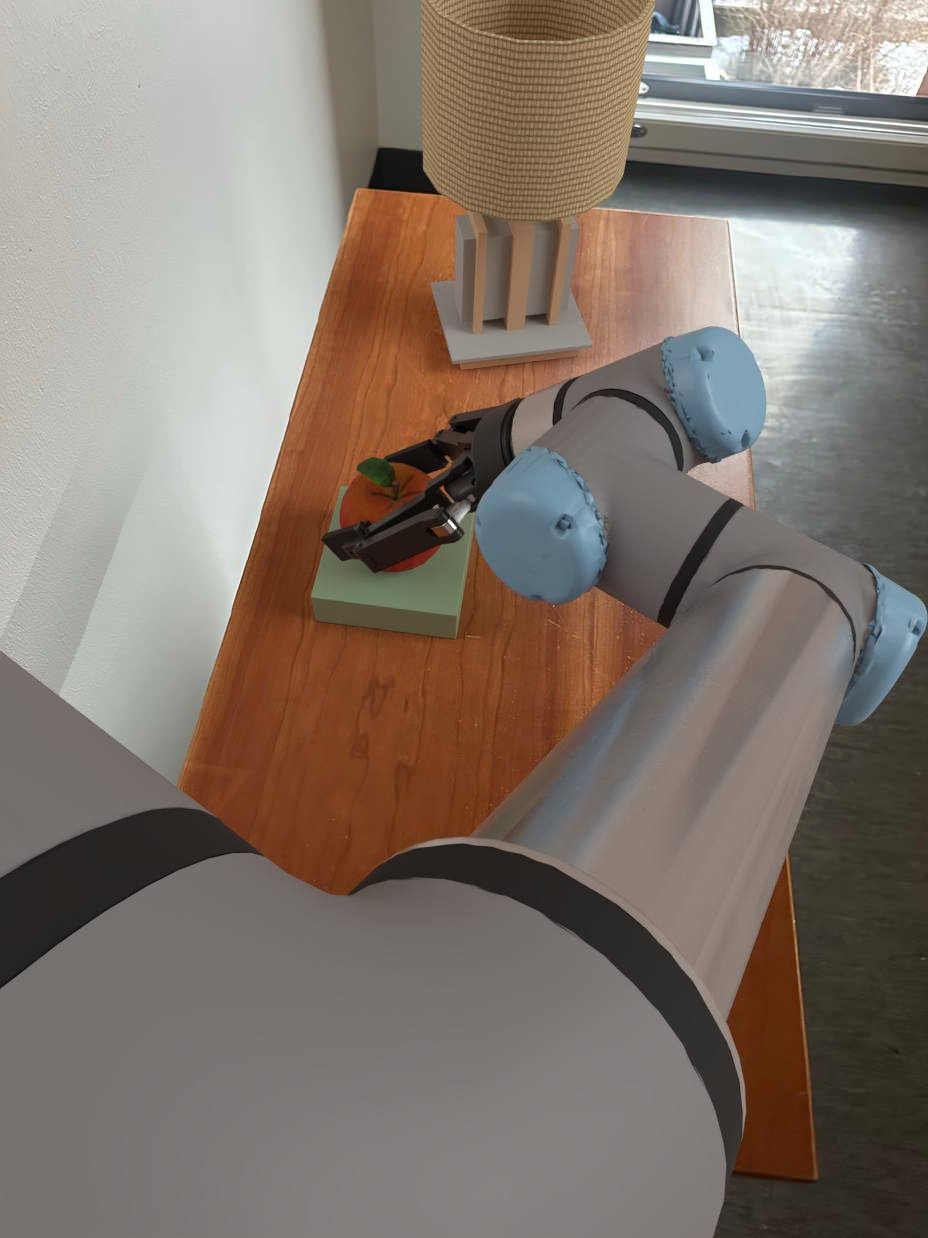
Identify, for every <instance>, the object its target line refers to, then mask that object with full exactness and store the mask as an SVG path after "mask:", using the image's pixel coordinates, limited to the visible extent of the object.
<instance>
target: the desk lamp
mask: <svg viewBox="0 0 928 1238" xmlns="http://www.w3.org/2000/svg"><path fill="white" fill-rule="evenodd" d="M656 1H657V0H420V8H421V9H420V17H421V19H420V23H421V25H420V26H421V27H420V28H421V29H420V30H421V34H420V35H421V99H422V100H421V105H422V107H421V108H422V111H421V112H422V170H423V172H424V174H425V175H426V176H427V178H428V180H429V181H430V183H431V184H432V186H433V187H434V189H435V190H436V191H437V193H439V194H440V195H442V196H444V197H445V198H447V199H448V200H450V201H452V202H453V203H455V205H457V206H459V207H461V208H463V209H464V210H466V214H459V215H455V242H454V243H455V244H454V246H455V247H454V253H455V254H454V279H453V280H443V281H441V280H440V281H434V282H430V288H431V291H432V295H433V299H434V303H435V306H436V309H437V313H438V317H439V320H440V321H439V322H440V324H441V328H442V332H443V336H444V338H445V342H446V346H447V349H448V354H449V356H450V360H451V364H452V365H459V367H460V370H461V371H462V370H472V369H479V368H490V367H496V366H497V367H498V366H506V365H514V364H524V363H531V362H539V361H540V362H541V361H549V360H556V359H557V360H558V359H565V358H573V357H574V358H575V357H578V351H579V350H589V349H593V346H594V344H593V341H592V339H591V337H590V334H589V332H588V331H589V330H588V329H587V327H586V323H585V322H584V320H583V319H584V318H583V316H582V314H581V312H580V309H579V307H578V304H577V302H576V299H575V297H574V294H573V292H572V280H573V276H574V270H575V269H574V268H575V263H576V262H575V261H576V256H577V249H578V242H579V236H580V231H581V230H580V229H581V228H580V225H579V224H578V221H577V219H576V217H575V216H578V215H583V214H586V213H587V212H589V211H590V210H592V209H594V208H595V207H597V206H598V205H600V204H602V203H603V202H605V201H607V200H609V199H610V198H611V197H612V196H613V194H614V192H615V191H616V189H617V187H618V185H619V184H620V182H621V180H622V179H623V177H624V174H625V169H626V168H625V167H626V163H627V162H626V161H627V157H628V152H629V146H630V141H631V136H632V130H633V126H634V125H633V124H634V119H635V115H636V114H635V113H636V109H637V103H638V98H639V92H640V87H641V83H642V82H641V81H642V77H643V71H644V66H645V60H646V54H647V50H648V44H649V39H650V34H651V28H652V23H653V19H654V11H655V7H656Z"/></svg>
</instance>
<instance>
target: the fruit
mask: <svg viewBox="0 0 928 1238" xmlns="http://www.w3.org/2000/svg"><path fill="white" fill-rule="evenodd" d="M355 470H356V471H357V472H358V473H359V475H357V476H356V477H355V478H353V480H352V481H351V483H350V484H349V485H348V486H349V487H348V489H347V490H346V492H345V494H344V496H343V499H342V503H341V508H340V516H339V521H340V527H341V528H345V527H348V526H351V525H354V524H358V523H359V522H360V521H362V522H364V521H367V520H369V521H370V522H371V524H374V523H375V522H377V521H378V520H380V519H382V518H383V517H385V516H386V515H388V514H389V513H391V512H393V511H394V510H396V509H397V508H399V507H400V506H402V505H404V504H405V503H407V502H408V501H410V500H411V499H413V498H415V497H416V496H418V495H419V494H421V493H422V492H424V491H425V489H426V486H427V483H428V481H429V480H431V479H433V477H431V476H430V475H428V474H425V473H424V472H422V471H421V470H419V469H417V468H415V467H412V466H409V465H406V464H403V463H389V462H387V461H386V460H384V458H380V457H375V456H372V457H368V458H366V459H364V460H363V461H362V462H360V463H358V464H357V466H356V469H355ZM440 546H441V545H439V546H436V547H434V548H432V549H430V550H427V551H425V552H423V553H421V554H418V555H416V556H414V557H412V558H409V559H407V560H405V561H402V562H400V563H398V564H396V565H393V566H391V567H389V568H387V569H384V570H382V571H384V572H402V571H407V570H412V569H414V568H416V567H418V566H420V565H422V564H424V563H425V562H427V561H428V560H429V559H430V558H431V557H432V556H433V555H434V554H435V553H436V552H437V551H438V549H439V548H440ZM359 560H360V559H359ZM360 561H361V560H360Z"/></svg>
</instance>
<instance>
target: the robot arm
mask: <svg viewBox="0 0 928 1238" xmlns="http://www.w3.org/2000/svg"><path fill="white" fill-rule="evenodd" d="M761 371H762V370H761V369H760V367H759V365H758V363H757V360H756V358H755V356H754V354H753V352H752V350H751V349H750V347H749V346H748V344H746V342H745V341H744V340H743V339H742V338H741V337H740V336H739V335H738V334H737V333H735V332H734V331H732V330H731V329H728V328H726V327H723V326H717V325H716V326H715V325H710V326H705V327H702V328H699V329H696V330H692V331H689V332H686V333H683V334H680V335H676V336H672V335H669V336H666V337H665V338H663V340H662V341H661V342H658V343H656V344H654V345H652V346H649V347H647V348H645V349H642V350H639V351H637V352H635V353H632V354H630V355H627V356H625V357H622V358H620V359H618V360H615V361H613V362H610V363H607V364H605V365H603V366H601V367H598V368H595V369H592V370H591V371H587V372H586V373H584V374H581V375H578V376H573V377H569V378H567V379H565V380H561V381H559V382H556V383H554V384H552V385H549V386H546V387H544V388H542V389H539V390H536V391H534V392H532V393H529V394H528V395H527V396H526V397H520V396H519V397H516V398H514V399H512V400H510V401H507V402H505V403H502V404H500V405H495V406H490V407H485V408H480V409H479V408H478V409H475V410H469V411H465V412H459V413H456V414H454V415H452V416H451V417H450V418H449V419H448V422H447V423H448V425H449V426H450V427H449V428H447V429H445V428H442V429H440V430H437V431H436V432H435V434H434V436H433V438H428V439H426V440H424V441H421V442H418V443H415V444H413V445H410V446H408V447H405V448H402V449H400V450H398V451H395V452H392V453H390V454H387V455H385V456H384V457H383V459H384V460H386V461H387V462H389V463H403V464H406V465H409V466H412V467H415V468H417V469H419V470H421V471H422V472H424V473H425V474H427V475H428V474H429V475H430V474H432V473H434V472H438V471H440V470H443V469H445V470H443V471H442V472H440V473H439V474H437V475H436V476H434V477H432V479H431V480H429V481H428V483H427V486H426V489H425V491H424V492H422V493H421V494H419V495H418V496H416V497H415V498H413V499H411V500H410V501H408V502H407V503H405V504H404V505H402V506H400V507H399V508H397V509H396V510H394V511H393V512H391V513H389V514H388V515H386V516H385V517H383V518H382V519H380V520H378V521H377V522H375V523H374V524H371V522H370V521H369V520H367V521H364V522H362V521H360V522H359V523H358V524H354V525H351V526H348V527H345V528H341V529H338V530H335V531H332V532H329V531H327V532H325V533H324V535H322V537H321V538H320V541H321V542H322V543H323V544H324V546H325V545H326V546H327V547H328V548H329V549H330V550H331V551H332V552H333V553H334V554H335V555H336V556H337V557H338V558H339V559H340V560H341V561H346V560H350V559H354V560H356V559H360V560H361V561H362V562H363V563H364V564H365V565H366V566H367V567H368V568H369V569H370V570H371V571H372V572H373V573H374V574H375V573H378V572H380V571H382V570H384V569H387V568H389V567H391V566H393V565H396V564H398V563H400V562H402V561H405V560H407V559H409V558H412V557H414V556H416V555H418V554H421V553H423V552H425V551H427V550H430V549H432V548H434V547H436V546H439V545H443V544H450V543H455V542H457V541H459V540H460V539H461V538H462V537H463V535H464V533H465V532H464V531H463V530H462V529H461V527H460V526H459V523H460V522H461V521H462V519H463V518H464V517H465V515H466V514H468V513H473V512H475V526H474V532H475V537H476V542H477V546H478V548H479V551H480V553H481V555H482V557H483V559H484V560H485V562H486V564H487V565H488V567H489V569H490V570H491V571H492V572H493V574H494V575H495V576H496V577H497V578H498V579H499V581H500V582H501V583H503V584H504V585H505V587H508V589H510V590H511V591H513V592H514V593H516V594H517V595H519V596H520V597H523V598H525V599H527V600H529V601H530V602H531V601H532V602H539V601H540V602H541V601H544V602H546V603H547V604H549V605H553V606H554V605H555V606H557V605H560V606H561V605H564V604H568V603H572V602H575V601H576V600H577V599H579V598H580V597H581V596H583V595H584V594H586V593H589V592H590V591H591V590H592V589H593V588H594V587H595V588H596V589H598V590H600V591H601V592H603V593H605V594H606V595H607V596H610V597H612V598H613V599H615V600H617V601H618V602H620V603H622V604H623V605H625V606H627V607H629V608H630V609H632V610H634V611H635V612H637V613H639V614H641V615H642V616H644V617H646V618H648V619H649V620H651V621H653V622H654V623H656V624H659V625H660V626H662V627H664V628H666V631H664V633H663V634H662V635H661V636H659V638H658V639H657V640H656V641H655V642H654V643H653V644H652V645H651V646H650V647H649V648H648V649H647V650H646V651H645V652H644V653H643V654H642V656H641V657H639V659H638V660H637V661H636V662H635V663H634V664H632V666H631V667H630V668H629V669H628V670H627V671H626V672H625V673H624V674H623V675H622V676H621V678H619V679H618V681H616V682H615V684H614V685H612V687H611V688H610V689H609V690H607V692H606V693H605V694H604V695H603V696H602V697H601V698H600V699H599V700H598V701H597V702H596V703H595V705H593V707H592V708H590V710H589V711H588V712H587V713H586V714H584V715H583V717H582V718H581V719H580V720H579V721H578V722H576V724H575V725H574V726H573V727H572V728H571V730H569V731H568V732H567V733H566V735H565V736H563V737H562V739H561V740H560V741H559V742H558V743H556V745H555V746H554V747H553V748H552V749H551V750H550V751H549V753H547V754H546V755H545V756H544V757H543V759H542V760H541V761H540V762H538V764H537V765H536V766H535V767H534V768H533V769H532V770H531V771H530V772H529V773H528V774H527V775H526V776H525V777H524V778H523V780H521V781H520V782H519V784H517V786H516V787H515V788H514V789H513V790H512V791H511V792H509V794H508V795H507V796H506V797H504V799H503V800H502V801H501V802H500V803H499V804H498V805H497V806H496V807H495V808H494V810H492V812H490V813H489V815H488V816H487V817H486V818H484V820H482V821H481V823H480V824H479V825H477V827H476V828H475V829H474V830H473V831H472V832H471V833H470V835H468V836H453V837H452V836H451V837H442V838H441V837H439V838H434V839H430V840H426V841H422V842H419V843H415V844H412V845H410V846H408V847H406V848H404V849H401V850H399V851H397V852H395V853H394V854H393V855H392V856H390V857H388V858H387V859H386V860H384V861H383V862H381V863H380V864H379V865H377V866H376V867H375V868H374V869H372V871H371V872H370V873H369V874H368V875H367V876H365V878H363V879H362V880H361V881H360V882H359V883H358V884H357V885H356V886H355V887H354V888H353V889H351V891H350V892H348V894H347V895H340V894H332V893H328V892H326V891H324V890H322V889H320V888H318V887H316V886H313V885H312V884H310V883H308V882H305V881H304V880H301V879H300V878H297V877H295V876H294V875H291V874H290V873H287V872H286V871H285V870H283V869H282V868H281V867H280V866H278V865H277V864H275V863H274V862H273V861H272V860H271V859H269V858H268V857H267V856H266V855H265V854H263V852H261V851H260V850H258V849H257V848H256V847H255V846H253V844H250V842H248V841H247V840H245V838H243V837H242V836H241V835H239V834H238V833H237V832H235V831H234V830H232V828H230V827H229V826H227V824H225V823H224V822H223V820H221V818H219V817H218V816H216V815H214V814H213V813H212V812H210V811H209V810H207V809H206V808H205V807H204V806H202V805H201V804H200V803H198V802H197V801H196V800H194V799H193V798H192V797H191V796H190V795H188V794H187V793H186V792H185V791H183V789H180V788H179V787H178V786H176V785H175V784H174V783H173V782H172V781H170V780H169V779H167V778H166V777H165V776H164V775H162V774H161V773H160V772H158V771H157V770H156V769H154V768H153V767H151V765H149V764H148V763H147V762H145V761H144V760H142V759H141V758H140V757H139V756H137V754H135V753H134V752H132V751H131V750H130V749H129V748H127V747H126V746H125V745H123V744H122V743H121V742H120V741H118V740H117V739H115V737H113V736H112V735H110V734H109V732H107V731H105V730H104V729H103V728H101V727H100V726H99V725H98V724H96V723H95V722H94V721H92V720H91V719H90V718H88V717H87V716H86V715H84V714H83V713H82V712H81V711H79V710H78V709H77V708H76V707H74V706H73V705H72V704H70V703H69V702H68V701H66V700H65V699H64V698H63V697H61V696H60V695H58V694H57V693H56V692H55V691H54V690H52V689H51V688H49V687H48V686H47V685H46V684H45V683H43V681H40V680H39V679H38V678H37V677H36V676H34V675H33V674H32V673H30V672H29V671H28V670H26V669H25V668H24V667H22V666H21V665H20V664H19V663H17V662H16V661H15V660H14V659H12V658H11V657H9V656H8V655H7V654H6V653H4V651H2V650H0V1238H714V1235H715V1231H716V1228H717V1225H718V1222H719V1221H720V1218H721V1214H722V1210H723V1207H724V1206H723V1205H724V1202H725V1198H726V1194H727V1191H728V1187H729V1184H730V1182H731V1177H732V1175H733V1171H734V1168H735V1164H736V1161H737V1157H738V1154H739V1150H740V1147H741V1143H742V1140H743V1137H744V1130H745V1121H746V1116H747V1104H746V1103H747V1101H746V1100H747V1099H746V1085H745V1080H744V1074H743V1070H742V1065H741V1059H740V1055H739V1053H738V1050H737V1047H736V1044H735V1042H734V1038H733V1036H732V1034H731V1031H730V1030H731V1029H730V1027H729V1025H728V1023H727V1020H728V1019H729V1016H730V1012H731V1009H732V1008H733V1007H732V1006H733V1003H734V1001H735V998H736V995H737V993H738V991H739V988H740V984H741V982H742V979H743V977H744V973H745V971H746V968H747V965H748V963H749V960H750V957H751V954H752V951H753V949H754V947H755V943H756V940H757V938H758V935H759V932H760V929H761V928H762V927H761V926H762V923H763V922H764V918H765V916H766V913H767V910H768V907H769V904H770V902H771V900H772V899H771V898H772V896H773V893H774V891H775V888H776V885H777V882H778V881H779V878H780V874H781V871H782V869H783V865H784V862H785V861H786V858H787V855H788V852H789V850H790V847H791V843H792V841H793V838H794V835H795V833H796V829H797V827H798V824H799V823H800V819H801V816H802V814H803V810H804V808H805V805H806V801H807V799H808V796H809V794H810V792H811V791H810V790H811V788H812V786H813V783H814V780H815V777H816V774H817V772H818V769H819V766H820V764H821V760H822V758H823V756H824V752H825V750H826V747H827V744H828V741H829V738H830V735H831V733H832V731H833V727H834V725H835V726H843V727H855V726H857V725H859V724H861V723H863V722H864V721H866V720H867V719H868V718H869V717H870V716H871V715H872V714H873V713H874V711H875V710H876V709H877V708H878V706H879V705H880V704H882V702H883V701H884V699H885V698H886V696H887V695H888V693H889V692H890V691H891V690H892V688H893V687H894V685H895V684H896V682H897V681H898V679H899V678H900V676H901V675H902V673H903V672H904V670H905V668H906V667H907V665H908V664H909V662H910V661H911V658H912V657H913V655H914V654H915V652H916V650H917V648H918V643H919V641H920V639H921V638H922V636H923V634H924V633H925V631H926V628H927V624H928V611H927V607H926V605H925V604H924V602H923V601H922V600H921V598H919V597H918V596H917V595H915V594H913V593H912V592H911V591H909V590H907V589H906V588H904V587H902V586H901V585H899V584H897V583H896V582H894V581H893V580H891V579H890V578H888V577H886V576H884V574H881V573H880V572H879V571H878V570H877V569H876V567H874V566H873V565H871V564H869V563H867V562H861V561H857V560H854V559H853V558H851V557H848V556H847V555H845V554H843V553H841V552H839V551H837V550H836V549H833V548H832V547H829V546H827V545H825V544H824V543H821V542H819V541H817V540H816V539H813V538H811V537H810V536H807V535H806V534H803V533H801V532H800V531H798V530H796V529H794V528H792V527H789V526H788V525H786V524H784V523H782V522H779V521H778V520H776V519H774V518H772V517H770V516H768V515H766V514H764V513H762V512H760V511H758V510H756V509H754V508H752V507H750V506H748V505H747V504H744V503H743V502H740V501H739V500H737V499H735V498H733V497H731V496H728V495H727V494H725V493H723V492H721V491H719V490H717V489H715V488H714V487H712V486H710V485H708V484H706V483H704V482H702V481H700V480H699V479H696V478H695V477H692V476H691V475H689V474H688V473H689V472H690V471H692V470H693V469H694V468H696V467H698V466H701V465H703V464H708V463H709V464H712V465H713V464H717V463H720V462H722V460H725V459H727V458H729V457H733V456H734V455H737V454H740V453H743V452H744V451H747V450H748V449H749V448H751V447H752V446H753V445H754V444H755V443H756V442H757V440H758V439H759V438H760V436H761V433H762V431H763V429H764V426H765V422H766V416H767V391H766V386H765V381H764V377H763V374H762V372H761ZM446 457H448V458H449V459H450V461H452V462H451V464H450V461H449V460H448V459H447V458H446ZM449 464H450V467H448V468H447V469H446V467H447V466H448V465H449ZM442 488H443V490H444V491H445V492H446V494H447V495H448V496H449V497H450V498H449V497H448V496H447V495H446V494H445V492H444V491H443V490H442ZM449 499H453V501H454V503H452V502H451V501H450V500H449Z"/></svg>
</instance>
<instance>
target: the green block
mask: <svg viewBox="0 0 928 1238" xmlns="http://www.w3.org/2000/svg"><path fill="white" fill-rule="evenodd" d="M349 486H350V485H340V488H339V490H338V491H339V492H338V496H337V499H336V501H335V505H334V511H333V513H332V517H331V520H330V524H329V528H328V532H332V531H335V530H338V529H341V527H340V521H339V516H340V508H341V503H342V499H343V496H344V494H345V492H346V490H347V489H348V487H349ZM449 500H450V501H451V502H452V503H454V501H453V499H452V498H449ZM475 513H476V512H473V513H468V514H466V515H465V517H464V518H463V519H462V521H461V522H460V523H459V526H460V527H461V529H462V530H463V531H464V532H465V533H464V535H463V537H462V538H461V539H460V540H459V541H457V542H455V543H450V544H443V545H441V546H440V548H439V549H438V551H437V552H436V553H435V554H434V555H433V556H432V557H431V558H430V559H429V560H428V561H427V562H425V563H424V564H422V565H420V566H418V567H416V568H414V569H412V570H407V571H402V572H384V571H380V572H378V573H375V574H374V573H373V572H372V571H371V570H370V569H369V568H368V567H367V566H366V565H365V564H364V563H363V562H362V561H360V560H359V559H356V560H354V559H350V560H346V561H341V560H340V559H339V558H338V557H337V556H336V555H335V554H334V553H333V552H332V551H331V550H330V549H329V548H328V547H327V546H326V545H325V544H324V545H323V550H322V554H321V557H320V561H319V564H318V569H317V572H316V576H315V579H314V583H313V587H312V590H311V593H310V600H311V605H312V609H313V615H314V619H315V622H322V623H328V624H329V623H330V624H336V625H343V626H344V625H345V626H351V627H352V626H353V627H359V628H360V627H361V628H366V629H375V630H383V631H390V632H398V633H405V634H412V635H421V636H429V637H436V638H443V639H444V638H445V639H451V640H452V639H453V640H456V639H457V637H458V632H459V631H458V629H459V624H460V620H461V618H460V617H461V613H462V606H463V600H464V593H465V588H466V582H467V576H468V570H469V563H470V558H471V551H472V545H473V538H474V532H475V521H476V516H475Z"/></svg>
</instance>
